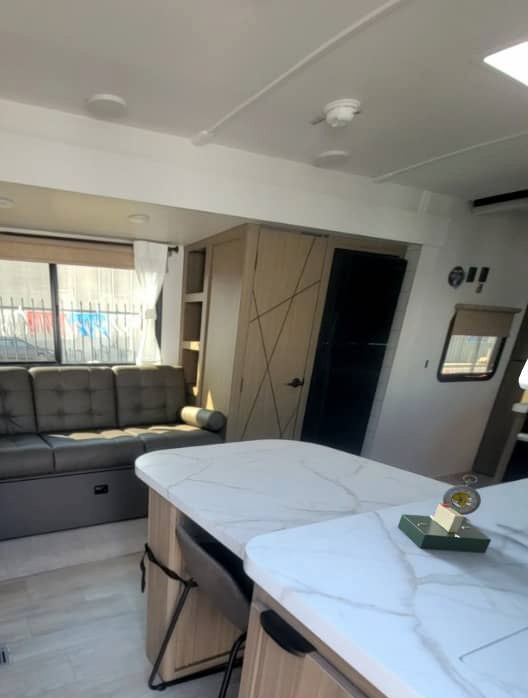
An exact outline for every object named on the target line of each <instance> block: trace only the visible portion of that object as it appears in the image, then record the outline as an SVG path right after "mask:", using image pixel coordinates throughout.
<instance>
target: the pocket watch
mask: <svg viewBox="0 0 528 698" xmlns="http://www.w3.org/2000/svg"><path fill="white" fill-rule="evenodd" d="M466 477H473V478H474V479H475V481H472V479H470V478H469V479H468V480H466V479H465V478H466ZM462 480H463V481H464V482H465V484H466V485H464V484H463V485H462V484H461V485H460V484H459V485H455V486H453V487H450V488H448V489H447V490H446V491H445V493H444V494H443V497H442V504H448V505H449V506H450V507H451V508H452V509H454V510H455V511H457V512H458V513H459V514H461V515H462V516H464V518H463V520H464V521H466V522H467V523H469V524H470V525H471V520H470V519H469V518H468V517H466V516H465V515H469V514H470V515H471V514H473V513H474V512H476V511H477V510H478V509H479V508H480V505H481V502H482V497H481V494H480V493H479V492H478V491H477V490H476V488H473V487H472V486H470V485H473V484H476V483H478V481H479V478H478V477H477V476H475V475H472V474H467V475H464V476H463V477H462ZM457 505H458V506H457ZM434 515H435V512H434V513H433V516H434Z"/></svg>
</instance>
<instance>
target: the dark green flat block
mask: <svg viewBox="0 0 528 698" xmlns="http://www.w3.org/2000/svg"><path fill="white" fill-rule="evenodd" d="M433 517H434V514H430V515H420V514H419V515H417V514H406V513H405V514H404V513H403V514H401V516H400V519H399V522H398V525H397V528H398V529H399V530H400V531H401V532H402V533H403V534H405V535H406V537H407V538H408V539H409V540H411V541H412V543H414V544H415V545H416V547H418V548H419V549H426V550H436V551H437V550H439V551H450V552H451V551H452V552H465V553H477V554H478V553H479V554H486V552H487V550H488V548H489V546H490V544H491V541H492V538H490V537H488V536H487V535H486V534H484V533H482V532H481V531H480V530H478V529H477V528H476V527H474V526H473V525H472V524H471V523H470V524H469V523H467V522H466V521H464V520H462V522H461V525H460V527H459V529H458V532H457V533H454V532H448V531H447V530H445V529H444V528H443V527H442V526H440V525H439V524H438V523H437V522H435V521H434V520H433Z"/></svg>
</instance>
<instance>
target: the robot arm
mask: <svg viewBox="0 0 528 698" xmlns="http://www.w3.org/2000/svg"><path fill="white" fill-rule="evenodd" d="M518 384H519V387H520V388H521V389H523V390H528V359H526V362H525V364H524V366H523V369H522V370H521V373H520V375H519V378H518Z"/></svg>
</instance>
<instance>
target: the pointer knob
mask: <svg viewBox="0 0 528 698" xmlns="http://www.w3.org/2000/svg"><path fill="white" fill-rule="evenodd" d="M434 513H435V515H434V514H433V516H434V517H433V520H434V521H435V522H437V523H438V524H439V525H440V526H442V527H443V528H444V529H445V530H447V531H448V532H454V533H457V532H458V529H459V527H460V525H461V522H462V520H463V518H464V517H465V515H461V514H459V513H458V512H457V511H455V510H454V509H452V508H451V507H450V506H449V505H448V504H444V503H443V502H441V503H439V504H438V505H437V507H436V509H435V512H434Z"/></svg>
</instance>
